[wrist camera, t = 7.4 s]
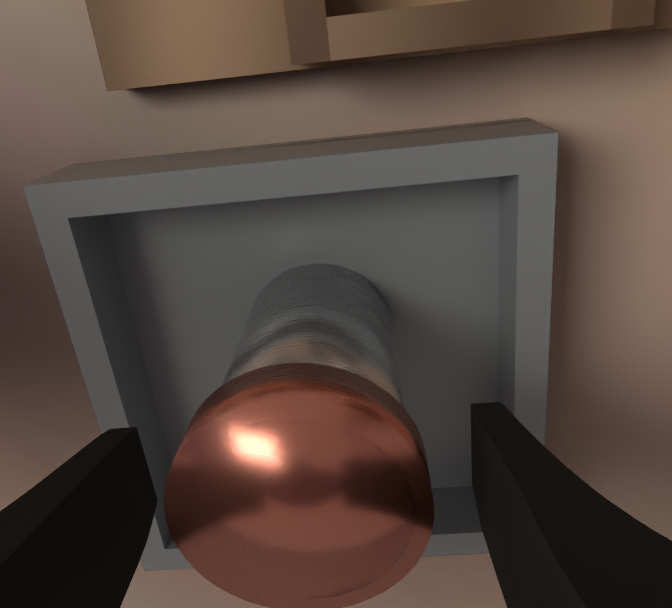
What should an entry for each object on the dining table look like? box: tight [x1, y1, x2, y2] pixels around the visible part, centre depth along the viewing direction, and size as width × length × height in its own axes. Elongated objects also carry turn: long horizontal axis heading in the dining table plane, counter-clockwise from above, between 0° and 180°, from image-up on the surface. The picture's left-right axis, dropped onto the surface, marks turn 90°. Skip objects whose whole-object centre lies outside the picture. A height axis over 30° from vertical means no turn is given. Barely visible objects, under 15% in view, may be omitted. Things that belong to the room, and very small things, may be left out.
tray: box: [23, 118, 559, 571], centre depth 16 cm, size 12×12×2 cm
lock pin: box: [163, 263, 434, 608], centre depth 13 cm, size 5×5×7 cm
